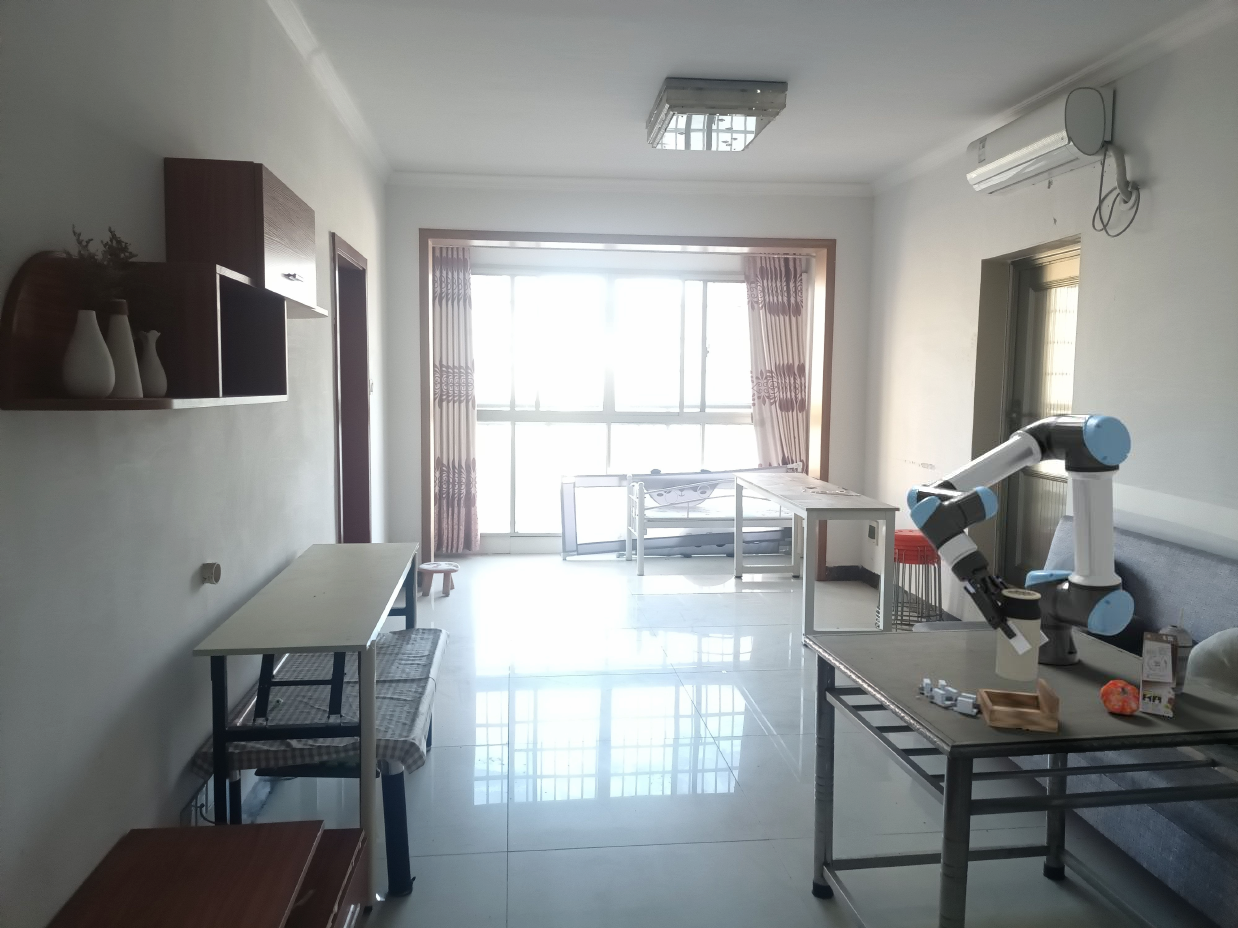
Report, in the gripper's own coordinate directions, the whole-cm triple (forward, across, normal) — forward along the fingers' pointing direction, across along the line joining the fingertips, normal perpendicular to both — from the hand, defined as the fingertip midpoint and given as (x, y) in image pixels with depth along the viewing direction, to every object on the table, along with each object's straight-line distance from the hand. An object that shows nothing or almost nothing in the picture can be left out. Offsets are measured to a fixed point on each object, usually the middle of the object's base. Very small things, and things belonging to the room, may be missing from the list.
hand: (1034, 647), depth 176 cm
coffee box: (+22, -31, -1) cm, 38 cm away
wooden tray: (+9, 0, -14) cm, 16 cm away
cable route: (-1, +2, -23) cm, 23 cm away
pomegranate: (+19, -22, -4) cm, 29 cm away
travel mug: (+3, 0, -8) cm, 8 cm away
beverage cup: (+21, -47, -2) cm, 52 cm away
